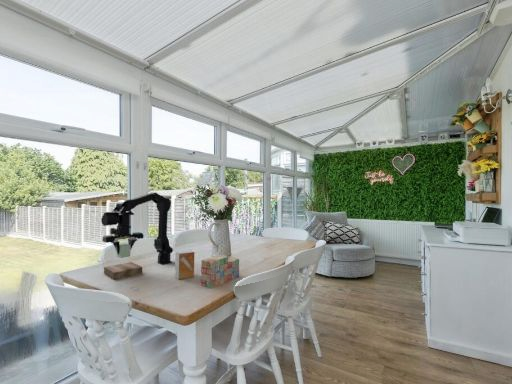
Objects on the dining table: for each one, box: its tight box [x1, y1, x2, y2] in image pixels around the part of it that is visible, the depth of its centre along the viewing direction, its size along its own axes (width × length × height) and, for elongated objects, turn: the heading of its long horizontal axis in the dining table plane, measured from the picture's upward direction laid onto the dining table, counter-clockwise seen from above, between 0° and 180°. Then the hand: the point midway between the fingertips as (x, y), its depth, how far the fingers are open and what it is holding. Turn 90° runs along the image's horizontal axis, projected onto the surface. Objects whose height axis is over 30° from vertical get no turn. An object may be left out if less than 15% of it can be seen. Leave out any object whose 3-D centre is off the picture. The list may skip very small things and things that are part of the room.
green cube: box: [116, 243, 132, 259], centre depth 137 cm, size 5×5×6 cm
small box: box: [174, 249, 196, 280], centre depth 133 cm, size 8×6×13 cm
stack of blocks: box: [200, 254, 240, 289], centre depth 128 cm, size 21×6×12 cm, turn 147°
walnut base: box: [103, 261, 143, 281], centre depth 136 cm, size 14×14×4 cm
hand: (123, 253), depth 137 cm, fingers closed on green cube, 5 cm apart
